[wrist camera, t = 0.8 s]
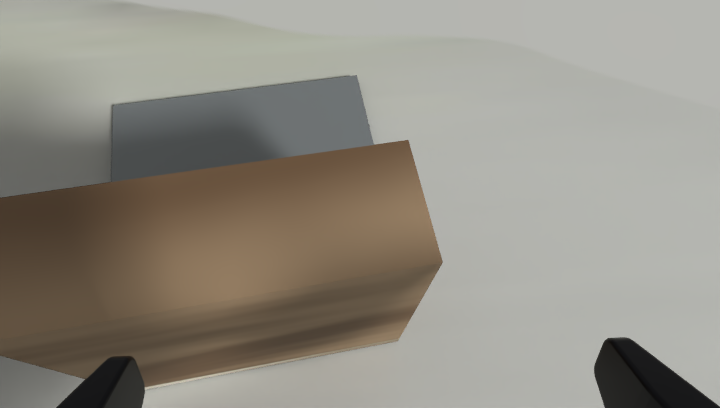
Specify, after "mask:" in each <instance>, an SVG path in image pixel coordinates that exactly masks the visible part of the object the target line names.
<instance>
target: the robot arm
mask: <svg viewBox="0 0 720 408" xmlns="http://www.w3.org/2000/svg"><path fill="white" fill-rule="evenodd" d="M594 373H595V378H596V381H597V385H598V388H599V391H600V394H601V397H602V400H603V403H604V406H605V408H720V406H718V405H717V404H716V403H714V402H713V401H712V400H710V399H709V398H708V397H706V396H705V395H704V394H703V393H701V392H700V391H699V390H697V389H696V388H695V387H693V386H692V385H691V384H689V383H688V382H687V381H685V380H684V379H683V378H681V377H680V376H679V375H678V374H676V373H675V372H674V371H672V370H671V369H670V368H668V367H667V366H666V365H664V364H663V363H662V362H660V361H659V360H658V359H657V358H655V357H654V356H653V355H651V354H650V353H649V352H647V351H646V350H645V349H643V348H642V347H641V346H639V345H638V344H637V343H636V342H634V341H633V340H631V339H629V338H625V337H620V338H608V339H606V340H605V341H604V343H603V345H602V348H601V350H600V353H599V355H598V358H597V360H596V363H595V366H594ZM144 394H145V385H144V381H143V378H142V376H141V373H140V370H139V368H138V365H137V363H136V360H135V358H133V357H132V356H113V357H110V358H108V359H107V360H105V361H104V362H103V363H102V364H101V365H100V366H99V367H98V368H97V369H96V370H95V371H94V372H93V373H92V374H91V375H90V376H89V377H88V378H87V379H85V380H84V381H83V382H82V383H81V384H80V385H79V386H78V387H77V388H76V389H75V390H74V391H73V392H72V393H71V394H70V395H69V396H68V397H67V398H66V399H65V400H64V401H63V402H61V403H60V404H59V405H58V406H57V407H56V408H142V404H143V399H144Z"/></svg>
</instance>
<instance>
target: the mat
mask: <svg viewBox="0 0 720 408" xmlns="http://www.w3.org/2000/svg"><path fill="white" fill-rule="evenodd" d="M370 145H374V144H373V140H372V136H371V132H370V128H369V124H368V120H367V116H366V111H365V107H364V103H363V99H362V95H361V91H360V87H359V83H358V79H357V75H355V76H347V77H339V78H331V79H322V80H314V81H306V82H298V83H290V84H282V85H274V86H266V87H258V88H249V89H241V90H233V91H225V92H217V93H209V94H201V95H193V96H185V97H176V98H168V99H160V100H152V101H144V102H136V103H128V104H120V105H113V125H112V161H111V182H115V181H122V180H129V179H137V178H144V177H151V176H158V175H165V174H172V173H179V172H186V171H193V170H200V169H207V168H214V167H221V166H228V165H235V164H242V163H249V162H257V161H264V160H271V159H278V158H285V157H292V156H299V155H306V154H313V153H320V152H327V151H334V150H341V149H348V148H355V147H362V146H370Z"/></svg>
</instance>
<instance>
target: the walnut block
mask: <svg viewBox="0 0 720 408" xmlns="http://www.w3.org/2000/svg"><path fill="white" fill-rule="evenodd" d="M442 263H443V262H442V258H441V255H440V251H439V248H438V244H437V241H436V237H435V233H434V230H433V226H432V223H431V219H430V216H429V212H428V208H427V205H426V201H425V198H424V194H423V191H422V187H421V184H420V180H419V176H418V173H417V169H416V166H415V162H414V159H413V155H412V152H411V148H410V144H409V141H408V140H405V141H398V142H391V143H384V144H377V145H370V146H362V147H355V148H348V149H341V150H334V151H327V152H320V153H313V154H306V155H299V156H292V157H285V158H278V159H271V160H264V161H257V162H249V163H242V164H235V165H228V166H221V167H214V168H207V169H200V170H193V171H186V172H179V173H172V174H165V175H158V176H151V177H144V178H137V179H129V180H122V181H115V182H108V183H101V184H94V185H87V186H80V187H73V188H66V189H59V190H52V191H45V192H38V193H31V194H24V195H17V196H9V197H2V198H0V356H4V357H7V358H11V359H15V360H18V361H22V362H25V363H29V364H33V365H36V366H40V367H44V368H47V369H51V370H55V371H58V372H62V373H65V374H69V375H73V376H76V377H80V378H84V379H87V378H88V377H89V376H90V375H91V374H92V373H93V372H94V371H95V370H96V369H97V368H98V367H99V366H100V365H101V364H102V363H103V362H104V361H105V360H107V359H108V358H110V357H113V356H132V357H133V358H135V360H136V363H137V365H138V368H139V370H140V373H141V376H142V378H143V381H144V385H145V390H146V389H151V388H157V387H162V386H167V385H172V384H177V383H183V382H188V381H193V380H198V379H203V378H209V377H214V376H219V375H224V374H229V373H234V372H240V371H245V370H250V369H255V368H260V367H266V366H271V365H276V364H281V363H286V362H292V361H297V360H302V359H307V358H312V357H318V356H323V355H328V354H333V353H338V352H344V351H349V350H354V349H359V348H364V347H370V346H375V345H380V344H385V343H390V342H396V341H398V340H399V338H400V336H401V334H402V333H403V331H404V329H405V327H406V326H407V324H408V322H409V320H410V319H411V317H412V315H413V313H414V312H415V310H416V308H417V306H418V305H419V303H420V301H421V299H422V298H423V296H424V294H425V292H426V291H427V289H428V287H429V285H430V284H431V282H432V280H433V278H434V277H435V275H436V273H437V271H438V270H439V268H440V266H441V264H442Z"/></svg>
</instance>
